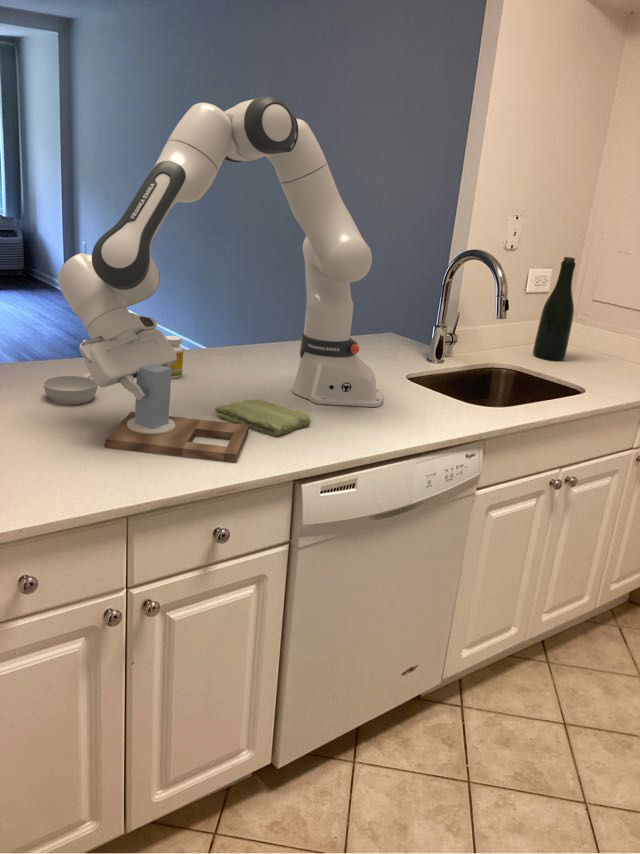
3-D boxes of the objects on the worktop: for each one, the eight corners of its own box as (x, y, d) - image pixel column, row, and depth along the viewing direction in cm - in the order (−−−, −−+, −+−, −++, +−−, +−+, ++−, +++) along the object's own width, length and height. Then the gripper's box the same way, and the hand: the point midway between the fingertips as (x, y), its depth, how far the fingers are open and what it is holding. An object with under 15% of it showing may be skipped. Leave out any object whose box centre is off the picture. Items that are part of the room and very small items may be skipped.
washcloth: (250, 405, 165) (251, 392, 164) (313, 427, 155) (314, 413, 154) (210, 417, 154) (211, 403, 153) (274, 441, 145) (276, 426, 144)
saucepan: (33, 401, 151) (33, 384, 150) (77, 380, 168) (77, 364, 167) (81, 410, 150) (81, 392, 148) (121, 387, 166) (121, 371, 165)
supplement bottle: (155, 373, 179) (157, 335, 175) (175, 371, 182) (176, 334, 179) (166, 379, 175) (167, 340, 172) (186, 377, 178) (187, 339, 175)
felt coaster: (179, 421, 144) (179, 418, 144) (168, 437, 136) (168, 434, 136) (135, 416, 144) (135, 413, 144) (120, 431, 136) (120, 428, 136)
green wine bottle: (563, 363, 236) (586, 260, 225) (530, 357, 240) (551, 256, 228) (565, 357, 246) (587, 258, 235) (533, 351, 249) (554, 253, 238)
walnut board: (248, 432, 147) (249, 425, 146) (235, 462, 132) (236, 454, 131) (131, 418, 147) (131, 411, 147) (105, 447, 132) (105, 439, 132)
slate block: (150, 417, 143) (152, 363, 139) (168, 423, 141) (171, 368, 137) (134, 422, 139) (137, 367, 135) (153, 428, 137) (156, 372, 134)
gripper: (84, 332, 128) (126, 397, 127) (159, 317, 145) (197, 374, 144) (65, 351, 131) (107, 415, 130) (141, 334, 148) (178, 391, 148)
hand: (154, 393), depth 138 cm, fingers open, 5 cm apart
